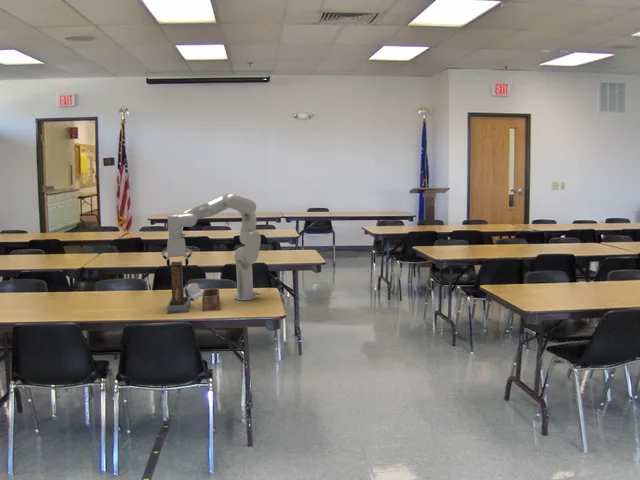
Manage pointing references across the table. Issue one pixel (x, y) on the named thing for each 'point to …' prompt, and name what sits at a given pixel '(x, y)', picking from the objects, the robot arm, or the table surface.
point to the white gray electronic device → (192, 291)
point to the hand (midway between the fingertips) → (177, 266)
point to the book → (177, 283)
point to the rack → (211, 299)
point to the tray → (179, 306)
